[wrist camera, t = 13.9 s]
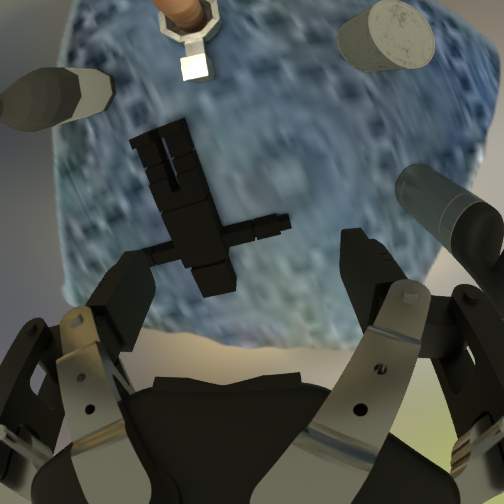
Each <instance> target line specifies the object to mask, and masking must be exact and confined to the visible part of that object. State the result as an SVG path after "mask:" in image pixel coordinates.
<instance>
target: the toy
mask: <svg viewBox="0 0 504 504" xmlns="http://www.w3.org/2000/svg"><path fill="white" fill-rule="evenodd" d="M162 137H164V139H165V142H166V145H167V147H168V150H169V153H170V156H171V158H173V157H175V158H174V159H173V160H172V161H173V164H174V167H175V170H176V172H177V176H176V177H177V180H178V182H179V185H178V183H177V180H176V178H175V175H174V172H173V171H172V168H171V165H170V163H169V160H168V159H167V160H165V159H166V158H167V155H166V152H165V149H164V146H163V143H162V141H161V138H162ZM129 142H130V145H131V147H132V150H133V149H135V148H137V151H138V154H139V156H140V159H141V162H142V164H143V167H144V168H146V167H147V169H146V170H145V172H146V175H147V177H148V180H149V182H150V185H149V188H150V190H151V193H152V195H153V197H154V200H155V202H156V205H157V207H158V209H159V212H162V214H161V216H162V219H163V221H164V223H165V226H166V228H167V230H168V232H169V235H170V237H171V239H172V241H170V242H167V243H163V244H160V245H156V247H155V246H152V247H149V248H146V249H142V250H143V251H144V253H145V255H146V258H147V261H148V264H149V266H150V267H152V266H155V265H156V264H157V265H160V264H164V263H168V262H172V261H175V260H179V259H181V261H182V263H183V265H184V267H185V268H189V267H192V269H191V272H192V275H193V277H194V279H195V281H196V283H197V285H198V287H199V289H200V291H201V293H202V296H203V298H206V297H211V296H215V295H220V294H225V293H230V292H234V291H236V281H237V277H236V274H235V272H234V269H233V266H232V264H231V261H230V258H229V256H228V254H229V247H231V246H235V245H239V244H243V243H248V242H252V241H255V237H257V240H260V239H264V238H268V237H272V236H276V235H280V234H281V232H280V231H283V230H287V229H291V228H292V227H291V222H290V218H289V215H288V214H286V215H282V216H278V217H277V216H276V214H273V215H269V216H265V217H261V218H257V219H253V223H252V221H251V220H249V221H245V222H241V223H237V224H233V225H229V226H226V227H222V224H221V221H220V218H219V215H218V213H217V210H216V207H215V204H214V201H213V198H212V196H211V193H210V192H209V187H208V184H207V181H206V178H205V175H204V173H203V170H202V167H201V164H200V162H199V159H198V156H197V153H196V150H193V149H194V148H195V147H194V144H193V141H192V138H191V135H190V132H189V129H188V126H187V123H186V120H185V118H183V119H180V120H177V121H174V122H172V123H169V124H166V125H164V126H161V127H159V128H156V129H154V130H151V131H149V132H146V133H144V134H142V135H139V136H137V137H135V138H132V139H130V140H129ZM192 150H193V151H192Z"/></svg>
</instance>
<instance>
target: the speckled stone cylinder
mask: <svg viewBox="0 0 504 504" xmlns="http://www.w3.org/2000/svg"><path fill="white" fill-rule="evenodd" d="M337 44H338V48H339V51H340V53H341V55H342V56H343V57H344V59H345V60H346V61H347V62H348V63H349V64H350V65H351V66H353V67H355V68H356V69H358V70H361V71H364V72H378V71H385V70H396V69H417V68H421V67H423V66H425V65H427V64H428V63H429V62H430V60H431V59H432V57H433V55H434V50H435V40H434V36H433V32H432V30H431V28H430V26H429V24H428V23H427V21H426V20H425V18H424V17H423V16H422V15H421V14H420V13H419V12H418V11H417V10H416V9H414V8H413V7H412V6H410V5H408V4H406V3H404V2H401V1H398V0H382V1H380V2H378V3H376V4H375V5H374V6H372V7H371V8H369V9H367V10H366V11H364V12H362V13H361V14H359V15H357V16H356V17H354V18H353V19H351V20H349V21H347V22H346V23H344V24H343V25H342V26H341V28H340V29H339V31H338V35H337Z"/></svg>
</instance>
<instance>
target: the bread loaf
mask: <svg viewBox="0 0 504 504" xmlns="http://www.w3.org/2000/svg"><path fill="white" fill-rule="evenodd" d="M153 3H154V5H155V6H156V7H157V8H158V9H159V10H160V11H161V12H163V13H164V14H165V15H166V16H167V17H168V18H169V19H170V20H172V21H173V22H174V23H175V24H176V25H177V26H178V27H179V28H180V29H181V30H182V31H184V32H186V33H197V32H199V31H201V30H202V29H204V28H205V26H206V25H207V22H208V18H207V15H206V13H205V12H204V10H203V8H202V6H201V4H200V3H199V1H198V0H153Z"/></svg>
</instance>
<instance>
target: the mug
mask: <svg viewBox="0 0 504 504" xmlns="http://www.w3.org/2000/svg"><path fill="white" fill-rule="evenodd" d="M198 1H199V3H200V4H201V6H202V8H203V10H204V12H205V13H206V15H207V18H208V22H207V25H206V26H205V28H204V29H202V30H201V31H199V32H197V33H186V32H184V31H182V30H181V29H180V28H179V27H178V26H177V25H176V24H175V23H174V22H173V21H172V20H170V19H169V18H168V17H167V16H166V15H165V14H164V13H163V12H161V11H160V12H159V14H158V15H159V23H160V30H161V33H163V34H164V35H165V36H167V37H168V38H170V39H172V40H174V41H176V42H178V43H179V44H182V45H184V46H185V51H186V57H185V58H181V59H180V60H181V66H182V72H183V78H184V81H188V82H192V83H200V82H205V81H210V80H216V79H215V73H214V67H213V61H212V60H211V59H210V58H209V57H208V56H207V54H206V47H205V43H206V42H208V41H209V40H211V39H212V38H213V37H214V36H215V35H216V34H217V33H218V31H219V29H220V27H221V26H222V22H221V15H220V9H219V6H218V3H217V0H198Z"/></svg>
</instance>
